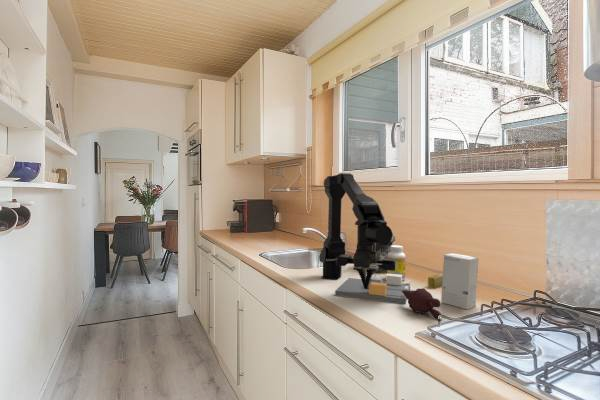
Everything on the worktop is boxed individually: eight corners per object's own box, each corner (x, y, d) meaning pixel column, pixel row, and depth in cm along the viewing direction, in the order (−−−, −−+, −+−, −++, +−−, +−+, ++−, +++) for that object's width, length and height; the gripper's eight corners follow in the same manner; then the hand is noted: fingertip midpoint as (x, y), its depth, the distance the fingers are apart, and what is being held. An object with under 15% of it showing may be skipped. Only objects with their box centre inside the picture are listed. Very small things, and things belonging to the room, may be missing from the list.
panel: (335, 295, 111) (335, 287, 111) (348, 281, 128) (348, 274, 127) (405, 303, 103) (405, 295, 102) (410, 288, 119) (410, 280, 119)
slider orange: (369, 294, 107) (369, 284, 107) (371, 291, 110) (371, 281, 110) (385, 296, 105) (385, 286, 105) (386, 292, 108) (386, 283, 108)
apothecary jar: (398, 269, 149) (399, 228, 148) (390, 275, 138) (390, 231, 138) (372, 266, 155) (372, 226, 155) (362, 271, 145) (362, 229, 144)
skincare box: (440, 302, 104) (441, 254, 103) (450, 299, 108) (451, 252, 107) (468, 310, 97) (469, 258, 97) (478, 306, 101) (479, 256, 101)
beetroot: (390, 284, 101) (428, 304, 87) (410, 276, 103) (449, 294, 90) (394, 305, 102) (431, 328, 88) (413, 297, 105) (452, 317, 91)
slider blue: (365, 287, 114) (365, 278, 114) (367, 284, 118) (367, 276, 118) (380, 289, 112) (380, 280, 112) (382, 286, 116) (382, 277, 116)
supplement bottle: (406, 282, 128) (406, 248, 127) (387, 281, 129) (388, 247, 129) (404, 277, 134) (404, 245, 134) (387, 276, 136) (387, 244, 135)
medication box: (445, 282, 129) (445, 271, 128) (452, 283, 126) (452, 272, 126) (427, 287, 121) (427, 276, 121) (434, 289, 119) (434, 277, 119)
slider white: (386, 284, 119) (386, 275, 119) (387, 281, 122) (387, 273, 122) (401, 285, 117) (401, 277, 117) (402, 283, 120) (402, 274, 120)
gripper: (330, 241, 105) (330, 292, 105) (393, 245, 98) (392, 299, 98) (340, 237, 115) (340, 283, 115) (397, 240, 108) (397, 289, 108)
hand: (366, 288), depth 109 cm, fingers closed
